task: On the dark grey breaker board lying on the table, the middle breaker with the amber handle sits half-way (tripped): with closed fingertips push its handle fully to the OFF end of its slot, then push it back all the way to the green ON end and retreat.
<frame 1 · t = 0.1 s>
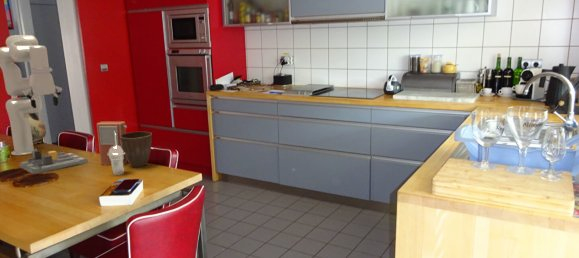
hand: (45, 106, 215), 31 cm above the table, tool pointing down, fingers open, 9 cm apart
breaker board: (53, 164, 226), on the table
cup with straw: (119, 173, 209), on the table
ceramic jug: (34, 143, 275), on the table
control panel: (114, 163, 227), on the table
plant pot: (139, 165, 222), on the table
tripped breaker: (52, 156, 225), point 4 cm above the table, slide at 0.0 cm
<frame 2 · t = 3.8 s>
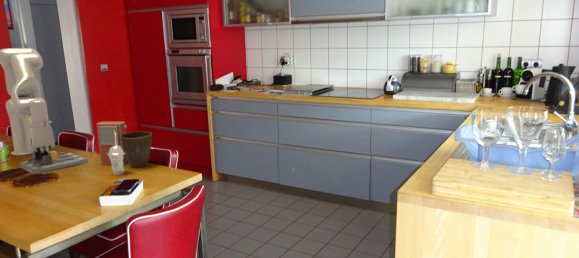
hand: (45, 159, 222), 3 cm above the table, tool pointing down, fingers closed
tripped breaker: (52, 156, 225), point 5 cm above the table, slide at 0.1 cm, touching gripper
everything else where it was.
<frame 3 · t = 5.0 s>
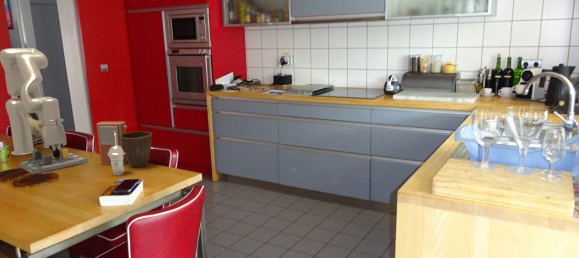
hand: (56, 157, 226), 3 cm above the table, tool pointing down, fingers closed
tripped breaker: (64, 153, 229), point 5 cm above the table, slide at 5.7 cm, touching gripper
everything else where it was.
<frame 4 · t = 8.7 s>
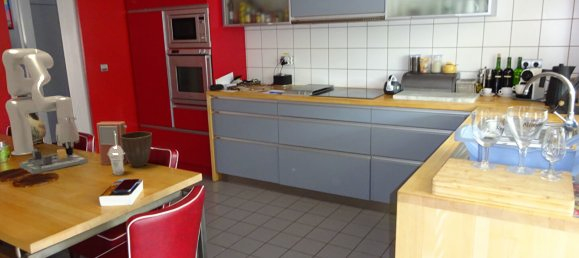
hand: (69, 154, 231), 3 cm above the table, tool pointing down, fingers closed
tripped breaker: (61, 154, 228), point 5 cm above the table, slide at 4.5 cm, touching gripper
everything else where it was.
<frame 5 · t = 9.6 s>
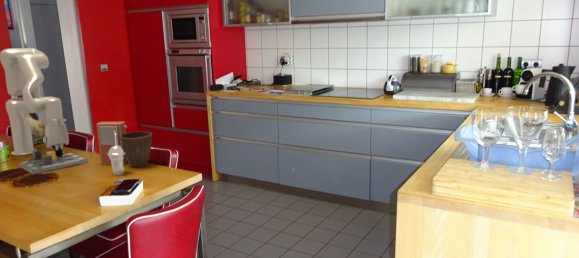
hand: (59, 156, 227), 3 cm above the table, tool pointing down, fingers closed
tripped breaker: (51, 156, 224), point 5 cm above the table, slide at -0.7 cm, touching gripper
everything else where it was.
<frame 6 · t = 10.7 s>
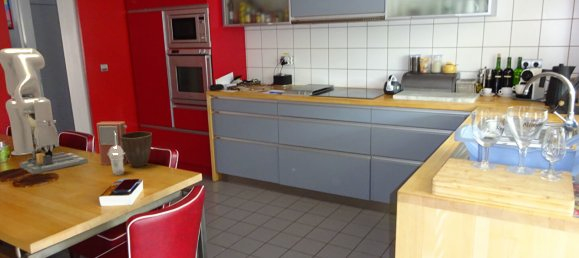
hand: (49, 158, 224), 3 cm above the table, tool pointing down, fingers closed
tripped breaker: (40, 158, 221), point 5 cm above the table, slide at -5.6 cm, touching gripper
everything else where it was.
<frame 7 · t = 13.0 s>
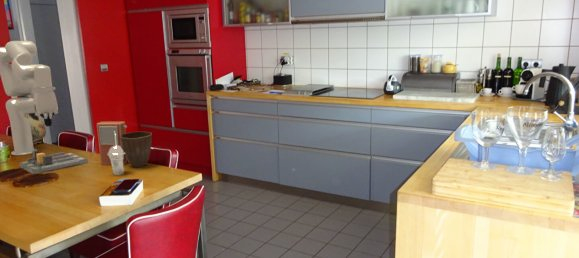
hand: (48, 125, 224), 20 cm above the table, tool pointing down, fingers closed
tripped breaker: (41, 158, 221), point 5 cm above the table, slide at -5.5 cm
everything else where it was.
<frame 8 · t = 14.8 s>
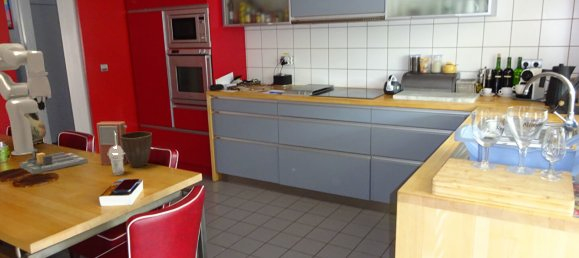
hand: (41, 109, 231), 27 cm above the table, tool pointing down, fingers closed
nothing on the table moved.
at the end: tripped breaker slide at -5.5 cm; tripped breaker touching nothing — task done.
